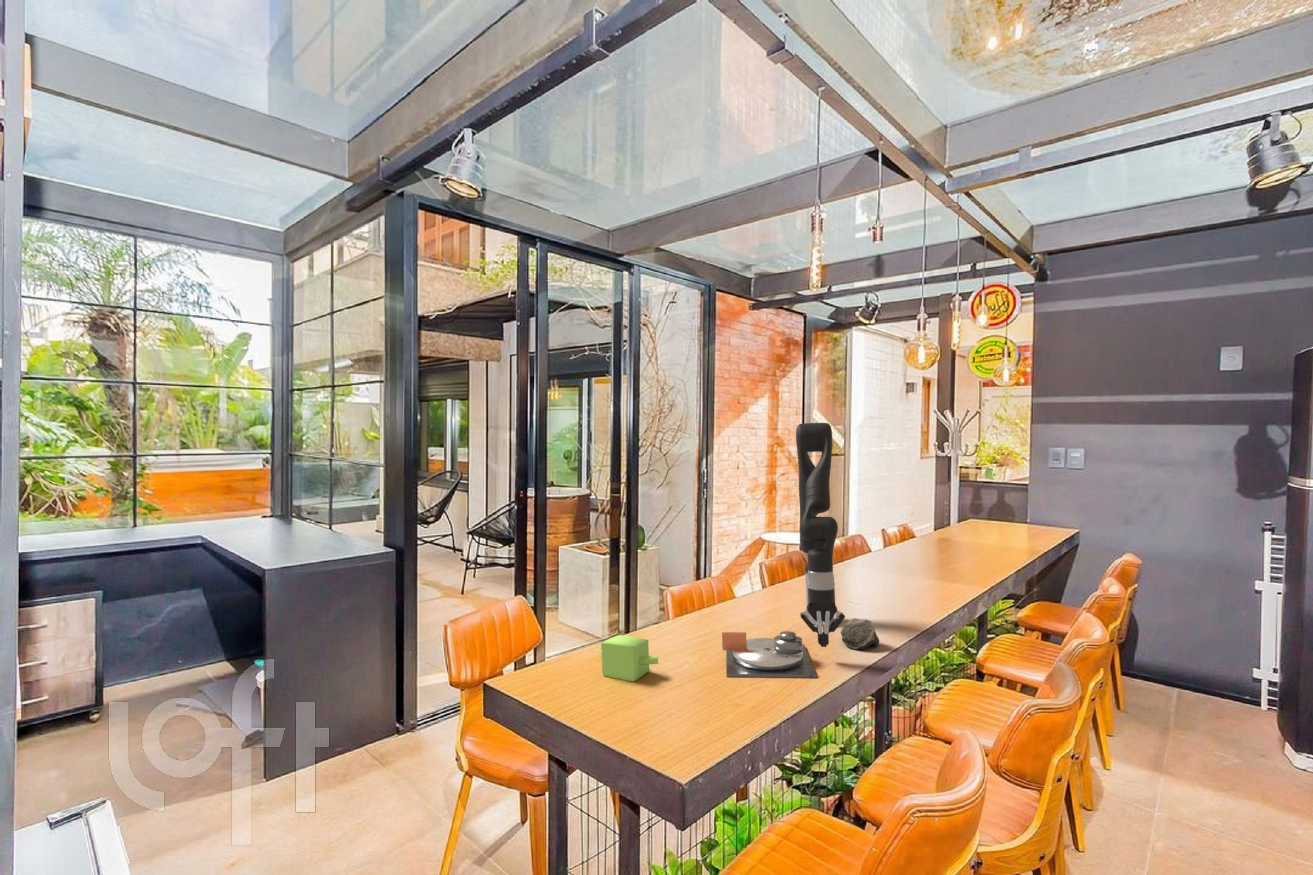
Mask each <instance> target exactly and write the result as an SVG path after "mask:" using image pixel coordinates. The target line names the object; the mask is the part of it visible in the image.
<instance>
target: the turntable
mask: <svg viewBox="0 0 1313 875" xmlns="http://www.w3.org/2000/svg"><path fill="white" fill-rule="evenodd" d="M721 638H722V639H721V640H722V641H721V642H722V651H726V650H733V658H734V660H735V661H736V662H737V663H739V664H741V665H743V666H746V667H750V668H754V669H761V670H781V669H788V668H792V667H795V666H797V665H799V664H800V663H801V662H802V661H803V651H802V652H801V653H798V654H782V653H778V652H776V651H775V650H774V638H775V637H774V638H773V637H772V638H770V637H761V638H760V637H759V638H749V639H747V632H742V631H741V632H735V631H734V632H732V631H731V632H728V631H727V632H724V631H723V632H721Z"/></svg>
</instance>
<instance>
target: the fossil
mask: <svg viewBox="0 0 1313 875" xmlns="http://www.w3.org/2000/svg"><path fill="white" fill-rule="evenodd" d="M840 635H841V641H842V642H843V644H844V646H846V647H847V648H849V649H851V650H854V651H861V650H862V651H863V650H866V649H868V648H869V647H870V646H871V644H872V645H873V646H874V647H876V648H877V647H879V643H880V639H879V637H878V634H877V633H876V629H875V626H874V624H873V622H872V621H871V620H870V619H867V618H861V619H859V618H855V617H854V618H851V619H850V620H848V621H847V622H846V623H844V624H843V625H842V627H841V630H840Z"/></svg>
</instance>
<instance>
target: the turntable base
mask: <svg viewBox="0 0 1313 875" xmlns="http://www.w3.org/2000/svg"><path fill="white" fill-rule="evenodd" d="M802 647H803V661H802V662H801V663H800V664H799V665H797V666H795V667H792V668H788V669H781V670H761V669H754V668H750V667H746V666H743V665H741V664H739V663H737V662H736V661H735V660H734V658H733V650H725V651H726V652H725V653H726V654H725V655H726V663H725V664H726V667H725V668H726V672H725V673H726V678H786V679H787V678H790V679H791V678H793V679H794V678H796V679H797V678H798V679H799V678H801V679H803V678H804V679H817V673H816V670H815V669H814V666H813V663H812V661H811V660H812V659H811V657H810V655H809V653H808V651H807V648H806V645H805V644H802Z"/></svg>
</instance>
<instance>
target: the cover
mask: <svg viewBox="0 0 1313 875" xmlns="http://www.w3.org/2000/svg"><path fill="white" fill-rule="evenodd" d="M802 645H803V639H802V637H800V636H798V635H797V634H796V632H793V631H790V630H789V631H788V630H786V631H784V630H783V631H781V632H780V634H779V635H776V636H774V650H775V651H776V652H778V653H782V654H798V653H801V652H802V651H803V647H802Z"/></svg>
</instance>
